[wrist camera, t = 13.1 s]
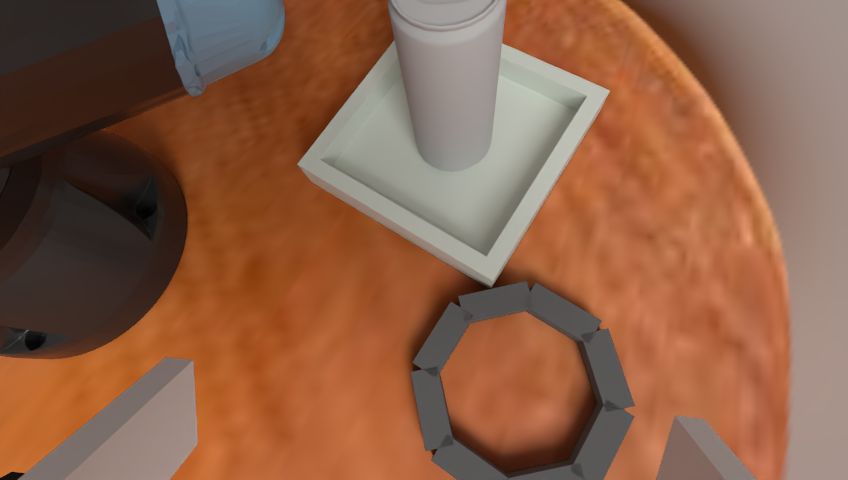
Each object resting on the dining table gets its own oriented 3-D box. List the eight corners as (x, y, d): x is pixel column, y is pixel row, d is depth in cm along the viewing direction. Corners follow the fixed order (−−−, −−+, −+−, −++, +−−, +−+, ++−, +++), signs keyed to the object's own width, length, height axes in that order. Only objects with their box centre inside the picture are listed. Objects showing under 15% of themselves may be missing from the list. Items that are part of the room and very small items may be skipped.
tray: (311, 181, 29) (297, 164, 26) (423, 34, 32) (419, 7, 29) (490, 290, 25) (492, 281, 23) (598, 114, 28) (610, 90, 26)
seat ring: (380, 417, 24) (376, 419, 23) (481, 256, 26) (482, 251, 25) (558, 549, 21) (564, 559, 20) (654, 357, 23) (663, 356, 22)
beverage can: (421, 110, 29) (392, -64, 17) (492, 112, 28) (511, -67, 17) (413, 174, 27) (376, 30, 16) (489, 178, 27) (506, 30, 15)
